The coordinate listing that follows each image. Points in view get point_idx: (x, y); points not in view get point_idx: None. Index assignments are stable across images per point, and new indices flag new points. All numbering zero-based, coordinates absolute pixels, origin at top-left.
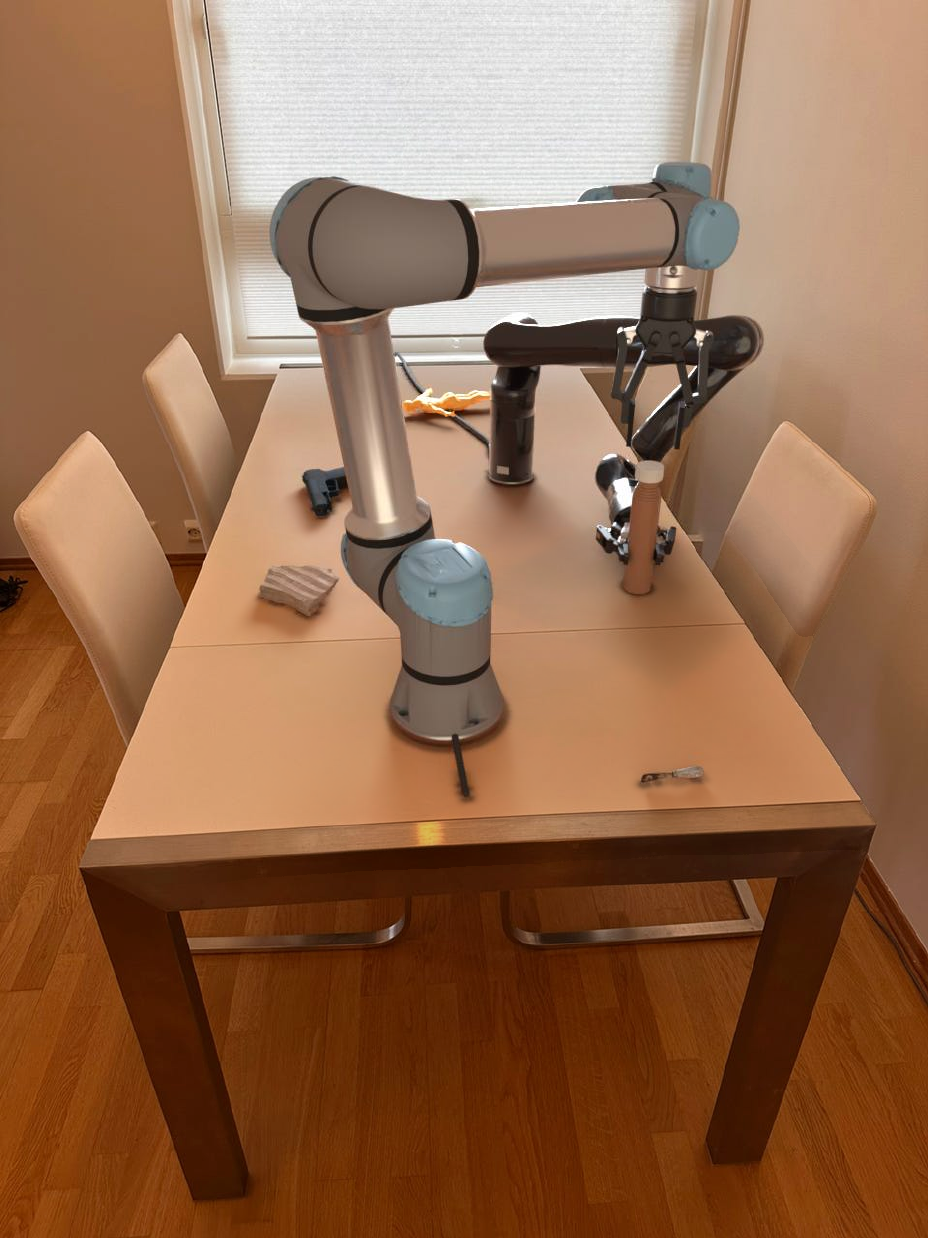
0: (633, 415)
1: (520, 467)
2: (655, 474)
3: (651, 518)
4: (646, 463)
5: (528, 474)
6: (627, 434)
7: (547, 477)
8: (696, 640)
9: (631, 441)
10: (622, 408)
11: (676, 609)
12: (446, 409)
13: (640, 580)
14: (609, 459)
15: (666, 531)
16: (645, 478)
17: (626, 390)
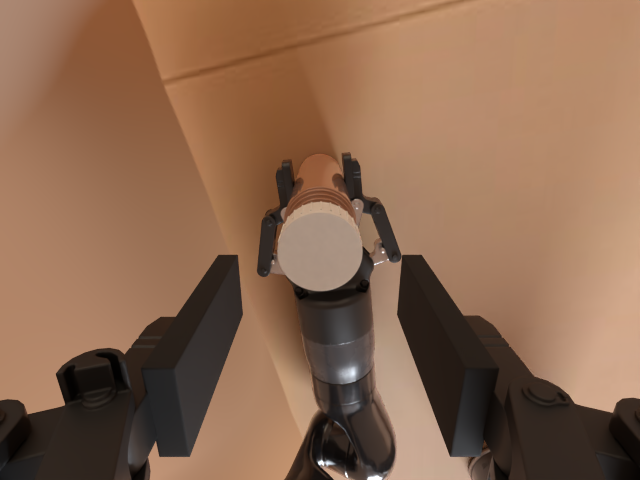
0: (445, 327)
1: None
2: (302, 212)
3: (305, 181)
4: (331, 267)
5: (481, 465)
6: (435, 275)
7: (447, 471)
8: (220, 14)
9: (407, 263)
10: (522, 365)
11: (256, 114)
12: None
13: (315, 157)
14: (379, 466)
15: (274, 259)
16: (331, 206)
17: (593, 463)
